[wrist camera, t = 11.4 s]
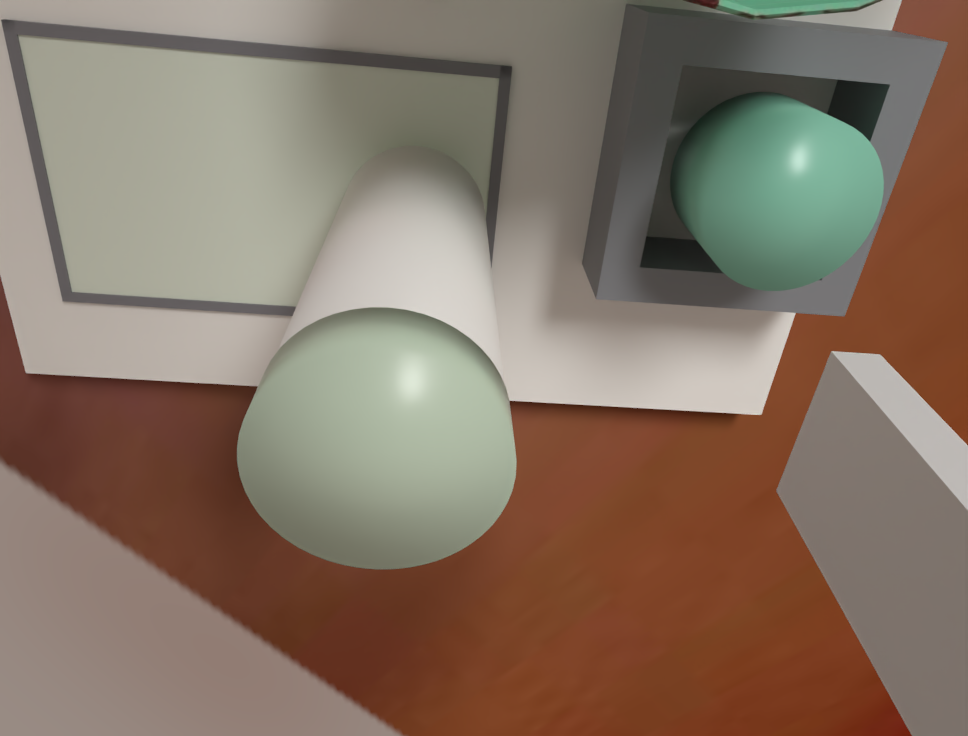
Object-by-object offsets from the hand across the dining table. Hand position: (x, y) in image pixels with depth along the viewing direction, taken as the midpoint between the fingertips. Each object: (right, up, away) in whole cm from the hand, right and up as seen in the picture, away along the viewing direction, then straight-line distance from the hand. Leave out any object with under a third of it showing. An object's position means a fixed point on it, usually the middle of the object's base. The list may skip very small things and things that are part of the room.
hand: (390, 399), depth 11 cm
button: (+8, +6, +8) cm, 13 cm away
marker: (0, +5, +10) cm, 11 cm away
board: (0, +7, +10) cm, 12 cm away
